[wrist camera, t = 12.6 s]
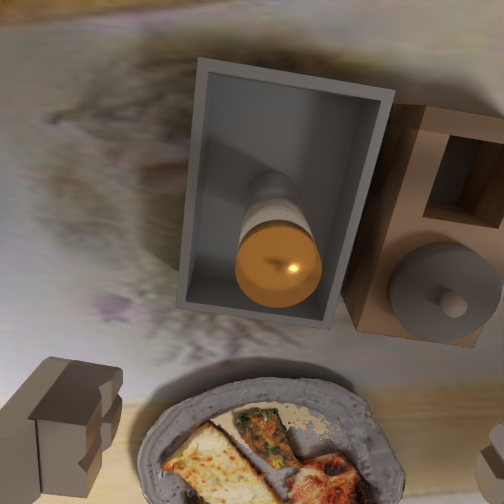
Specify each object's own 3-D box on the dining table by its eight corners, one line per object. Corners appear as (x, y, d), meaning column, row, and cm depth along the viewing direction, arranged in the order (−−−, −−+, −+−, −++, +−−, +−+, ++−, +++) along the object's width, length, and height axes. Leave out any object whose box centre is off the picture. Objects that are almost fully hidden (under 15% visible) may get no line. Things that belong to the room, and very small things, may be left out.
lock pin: (291, 222, 27) (311, 313, 15) (243, 215, 26) (229, 301, 15) (300, 175, 25) (330, 236, 14) (250, 167, 25) (241, 222, 14)
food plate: (428, 509, 39) (443, 547, 35) (232, 567, 43) (228, 605, 40) (327, 322, 31) (334, 348, 28) (103, 417, 36) (86, 449, 33)
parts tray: (319, 297, 30) (329, 329, 25) (187, 277, 29) (175, 308, 25) (372, 91, 24) (396, 90, 20) (208, 63, 23) (197, 56, 19)
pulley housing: (440, 308, 30) (496, 374, 23) (341, 294, 29) (366, 356, 22) (514, 124, 24) (617, 135, 17) (394, 103, 24) (450, 107, 17)
